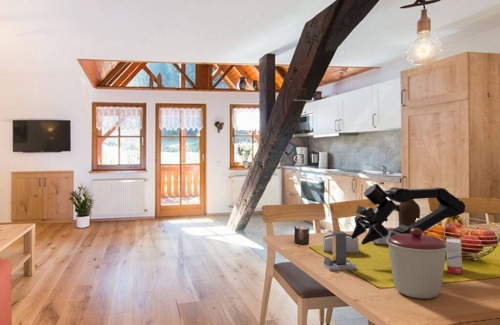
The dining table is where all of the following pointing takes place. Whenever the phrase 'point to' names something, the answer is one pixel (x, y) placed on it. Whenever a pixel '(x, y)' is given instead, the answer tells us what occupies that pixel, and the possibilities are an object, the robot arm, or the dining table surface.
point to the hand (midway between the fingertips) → (356, 241)
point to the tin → (384, 238)
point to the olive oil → (408, 212)
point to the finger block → (339, 248)
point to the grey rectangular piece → (330, 266)
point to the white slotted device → (350, 243)
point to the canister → (417, 263)
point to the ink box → (454, 255)
